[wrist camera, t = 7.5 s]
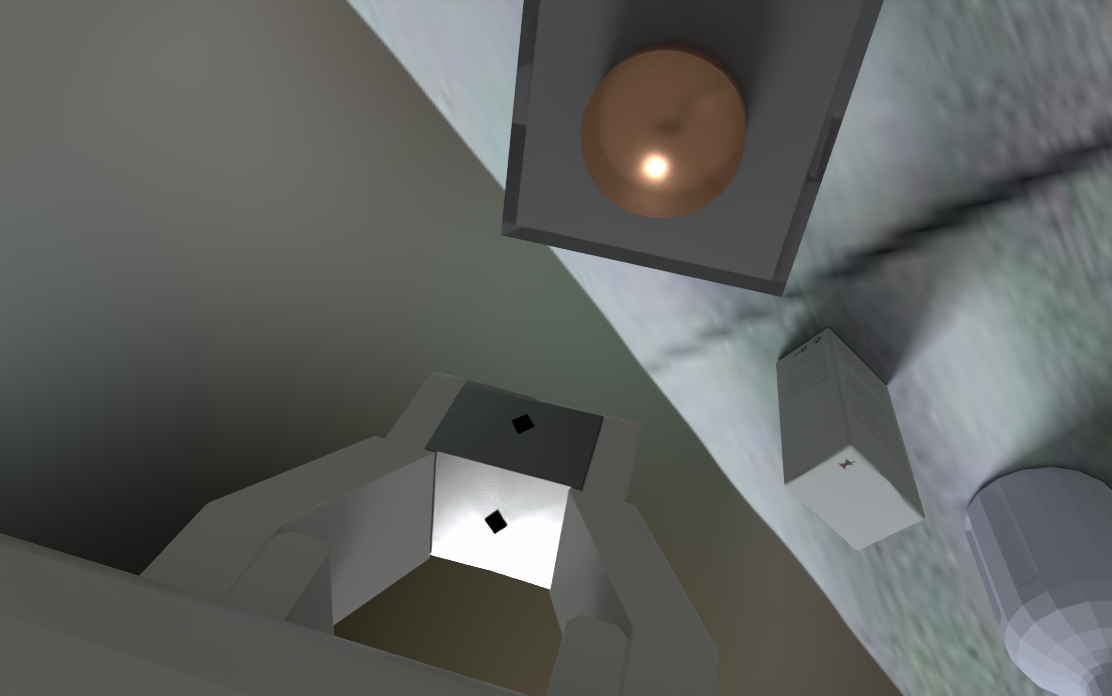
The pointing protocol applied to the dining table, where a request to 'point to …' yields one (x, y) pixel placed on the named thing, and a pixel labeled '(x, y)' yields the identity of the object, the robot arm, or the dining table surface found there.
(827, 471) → the skincare box
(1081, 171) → the dining table surface
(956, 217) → the dining table surface
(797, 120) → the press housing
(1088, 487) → the soap bottle
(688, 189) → the plunger
